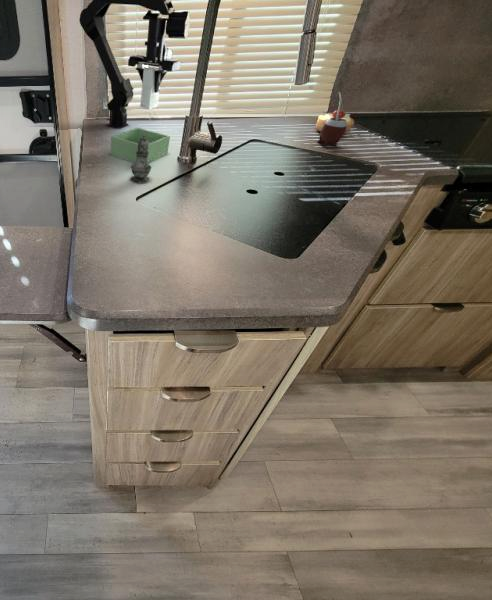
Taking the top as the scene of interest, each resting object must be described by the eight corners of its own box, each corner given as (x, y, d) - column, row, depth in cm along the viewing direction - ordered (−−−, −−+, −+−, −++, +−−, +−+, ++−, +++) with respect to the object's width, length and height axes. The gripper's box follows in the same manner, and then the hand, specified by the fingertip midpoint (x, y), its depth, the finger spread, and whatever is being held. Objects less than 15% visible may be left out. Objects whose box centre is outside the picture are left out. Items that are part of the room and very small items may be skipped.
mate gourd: (333, 149, 112) (356, 99, 102) (309, 143, 117) (330, 95, 106) (341, 144, 116) (365, 95, 106) (318, 139, 120) (339, 91, 110)
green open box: (110, 154, 109) (110, 136, 105) (135, 144, 116) (137, 127, 112) (142, 165, 102) (144, 146, 98) (167, 154, 109) (170, 136, 106)
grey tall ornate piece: (126, 177, 95) (129, 133, 87) (143, 174, 97) (148, 130, 89) (135, 185, 91) (139, 139, 83) (154, 181, 93) (159, 136, 85)
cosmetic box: (148, 110, 121) (153, 70, 113) (139, 107, 123) (143, 68, 115) (158, 106, 125) (163, 68, 116) (148, 104, 127) (153, 66, 118)
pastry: (311, 133, 125) (322, 107, 119) (315, 126, 132) (325, 100, 126) (347, 139, 120) (360, 111, 114) (349, 130, 128) (361, 104, 122)
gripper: (192, 37, 110) (184, 91, 120) (147, 34, 119) (143, 85, 129) (174, 40, 104) (167, 96, 114) (128, 36, 113) (125, 89, 123)
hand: (150, 91), depth 120 cm, fingers closed on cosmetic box, 4 cm apart
